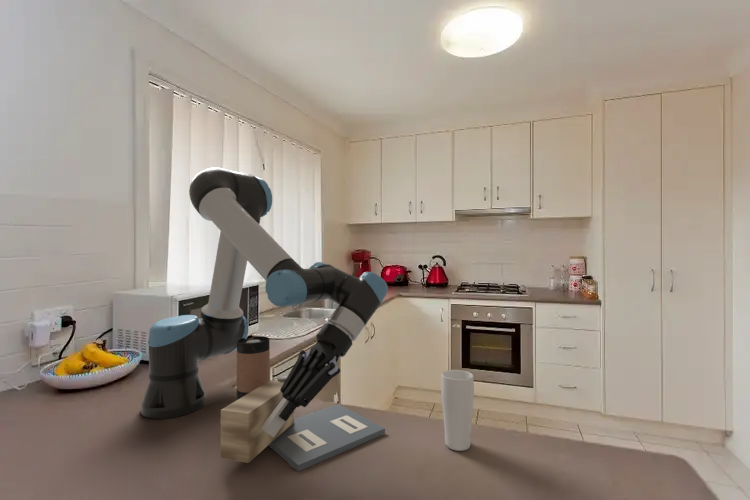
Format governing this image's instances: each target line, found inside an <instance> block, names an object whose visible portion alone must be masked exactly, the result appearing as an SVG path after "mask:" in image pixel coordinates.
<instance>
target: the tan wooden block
mask: <svg viewBox="0 0 750 500" xmlns="http://www.w3.org/2000/svg"><path fill="white" fill-rule="evenodd" d="M287 377H288V375H283V376H278V378H277V380H274V379H273V380H272V379H270V381H268V382H267V383H265V384H263V385H262V386H260V387H258V388H257V389H255V390H253V391H252V392H250V393H248V394H247V395H245V396H243V397H242V398H240V399H238V400H237V399H236V400H235V401H233V402H232V403H230V404H228V405H227V406H225V407H223V408H222V409H220V459H225V460H230V461H235V462H240V463H241V462H242V463H246V464H249V463H250V462H251V461H252V460H253V459H254V458H256V457H257V456H258V455H259V454H260V453H261V452H263V450H264V449H266V448H267V447H268V446H269V444H270V443H271V442H272V441H274V440H275V439H276V438H277V437H278V436H279V435H280V434H281V433H283V432H284V431H285V430H286V429H287V428H288V427H289V426H290V425H292V424H293V423H294V419H295V410H294V411H293V413H292V414H291V416H290V417H289V418H288V420H287V421H285V423H284V424H283V425H282V427H281V428H280V430H279V431H278V432H277V434H276V435H275V437H272V436H271V435H270V434H268V433H267V432H265V431H264V430H263V429H262V428H261V427H262V426H263V424H264V423H265V422H266V420H267V419H268V418H269V416H270V415H271V413H272V412H273V410H274V408H275V407H276V406H277V404H278V403H279V402H280V400H281V399H282V397H283V396H282V395H283V394H282V392H281V391H280V389H281V387H282V385H283V384H284V382H285V380H286V378H287Z"/></svg>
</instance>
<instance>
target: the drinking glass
mask: <svg viewBox="0 0 750 500" xmlns="http://www.w3.org/2000/svg"><path fill="white" fill-rule="evenodd" d="M440 381H441V382H440V391H441V392H440V393H441V406H442V416H443V417H442V418H443V430H444V443H445V446H446V447H447V448H448V449H450V450H452V451H457V452H464V451H467V450H468V449H470V448H471V444H472V442H471V440H472V439H471V438H472V437H471V436H472V424H473V423H472V422H473V411H474V398H475V385H474V384H475V383H474V381H475V380H474V374H473V373H471V372H470V371H466V370H462V369H448V370H445V371H443V372H441V378H440Z"/></svg>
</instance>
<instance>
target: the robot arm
mask: <svg viewBox="0 0 750 500" xmlns="http://www.w3.org/2000/svg"><path fill="white" fill-rule="evenodd" d="M188 192H189V199H190V202H191V204H192V206H193V208H194V209H195V210H196V212H197V213H198V214H199V215H200V216H201V217H202V218H203V219H204V220H206V221H209V222H210V221H211V222H212V223H213V224H214V225H215V226H216V227H217V229H218V230H219V231H220V232H219V238H218V244H217V248H216V249H217V250H216V256H215V262H214V266H213V268H214V269H213V274H212V280H211V286H210V291H209V297H208V303H207V304H205V305H203V306H202V307H201V310H200V317H198V316H197V315H193V314H182V315H178V316H177V315H175V316H171V317H167V318H163V319H161V320H159V321H156V322H155V323H153V324H152V325H151V326H150V328H149V334H148V340H147V344H148V383H147V387H146V389H145V392H144V395H143V398H142V400H141V403H140V413H141V415H142V417H144V418H147V419H153V420H155V419H158V420H159V419H161V420H162V419H171V418H176V417H181V416H184V415H187V414H190V413H193V412H195V411H197V410H200V409H201V408H202V407H203V406H205V404H206V402H207V401H206V400H207V399H206V398H207V397H206V396H207V395H206V390H205V388H204V386H203V382H202V380H201V376H200V374H199V362H200V361H203V360H204V361H205V360H208V359H211V358H215V357H218V356H221V355H227V354H230V353H232V352H234V351H237V340H239V339H241V338H245V339H248V336H249V325H248V324H247V323H248V320H247V318H246V316H244V311H243V309H242V308H241V307H240V304H241V303H240V302H241V297H242V291H243V287H244V280H245V275H246V270H247V264H248V263H249V264H250V265H251V266H252V267H253V268H254V269H255V271H257V273H258V274H259V275H260V276H261V277H262V278H263V280H264V281H265V288H264V289H265V293H266V294H267V299H268V300H269V302H270V303H271V304H272V305H275V306H276V307H281V308H282V307H283V308H285V307H296V306H298V305H304V304H308V303H314V302H320V301H325V300H329V301H331V302H333V303H335V304H338V306H337V307H336V308H335V309H334V311H333V312H332V314H331V315H329V317H328V319H327V323H324V324H323V326H322V327H321V328H320V329H319V330H318V332H317V333H316V337H315V338H316V343H315V344H314V345H313V346H311V348H310V350H308V351H305V350H304V349H301V350H300V351H299V353H298V357H297V360H296V361H295V363H294V365H293V367H292V368H291V370H290V372H289V373H288V375H287V376H288V377H287V378H286V380H285V382H284V384H283V385H282V387H281V389H280V391H281V392H282V394H283V395H282V396H283V397H282V399H281V400H280V402H279V403H278V404H277V406H276V407H275V408H274V410H273V412H272V413H271V415H270V416H269V418H268V419H267V420H266V422H265V423H264V424H263V426H262V427H261V428H262V429H263V430H264V431H265V432H267V433H268V434H270V435H271V436H272V437H275V435H276V434H277V432H278V431H279V430H280V428H281V427H282V425H283V424H284V423H285V421H287V420H288V418H289V417H290V416H291V414H292V413H293V411H294V412H295V411H296V409H297V408H299V407H302V408H306V407H307V406H308V405H309V404H310V402H312V400H314V399H315V397H316V396H317V395H318V394H319V393H320V392H321V391H322V390H323V389H324V387H326V386H327V384H328V383H329V382H330V381H331V380H332V379H333V378H334V377H335V376H338V375H339V374H340V372H341V368H340V367H338V364H337V363H338V361H339V360H340V359H339V358H340V357H341V358H343V357H345V356H346V355H347V353H348V351H349V350H350V349H351V347H352V346H353V342H355V341H356V340H357V338H358V337H359V335H360V334H361V332H362V331H363V330H364V328H365V327H366V326H367V324H368V322H369V320H370V319H371V317H373V315H374V313H375V312H376V311H377V309H378V308H379V307H380V306H381V305H382V303H383V301H384V299H385V297H386V296H387V294H388V292H389V287H388V283H387V282H386V281H385V280H384V279H383V278H382V277H381V276H380V275H379V274H377V273H375V272H373V271H365V272H363V273H362V274H361V275H360V276H359V277H358V276H355V275H352V274H349V273H348V272H345V271H343V270H342V269H340V268H337V267H335V266H334V265H331V264H328V263H324V262H322V261H317V262H315V263H314V264H311V265H310V266H309V268H303V267H302V266H301V265H300V264H299V263H298V262H296V261H295V260H294V259H293V258H292V256H291V255H290V254H289V253H288V252H287V251H286V250H285V249H284V248H283V247H282V246H281V245H280V244H279V243H278V242H277V241H276V240H275V239H274V237H272V235H270V234H269V233H268V232H267V231H266V229H264V228H263V226H262V225H260V223H261V218H262V217H264V216H266V215H268V213H269V212H270V210H271V209H272V206H273V193H272V190H271V187H269V184H268V183H267V182H266V181H265V180H264V179H263V178H260V177H258V176H255V175H252V174H249V173H248V174H247V173H244V172H240V171H239V172H238V171H234V170H230V169H225V168H221V167H209V168H206V169H203V170H202V171H200V172H198V173H197V174H196V175H195V176H194V177H193V179H192V180H191V183H190V185H189V191H188Z"/></svg>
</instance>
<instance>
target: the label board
mask: <svg viewBox="0 0 750 500" xmlns="http://www.w3.org/2000/svg"><path fill="white" fill-rule="evenodd" d="M385 434H386V428H385V427H383V426H382V425H380V424H377V423H375V422H373V421H372V420H370V419H368V418H366V417H364V416H362V415H360V414H358V413H356V412H355V411H352V410H351V409H349V408H348V407H345V406H342V405H341V404H339V403H337V404H335V405H331V406H328V407H326V408H322V409H320V410H317V411H313V412H311V413H307V414H304V415H302V416H301V415H300V416H298V417H294V423H293V424H292V425H290V426H289V427H288V428H287V429H286V430H285V431H284V432H283V433H281V434H280V435H279V436H278V437H277V438H276V439H275V440H274V441H272V442H271V443H270V444H269V445H268V446H269V447H270V448H271V449H272V450H273V451H274V452H275V453H277V455H279V457H281V458H282V459H283V460H285V462H287V463H288V464H289V465H290V466H291V467H292V468H294V469H295V471H297V472H300V471H303V470H305V469H308V468H310V467H312V466H314V465H316V464H319V463H321V462H323V461H326V460H328V459H331V458H332V457H335V456H337V455H339V454H342V453H344V452H346V451H348V450H351V449H354V448H355V447H358V446H360V445H362V444H364V443H366V442H368V441H372V440H374V439H376V438H378V437H381V436H383V435H385Z"/></svg>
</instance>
